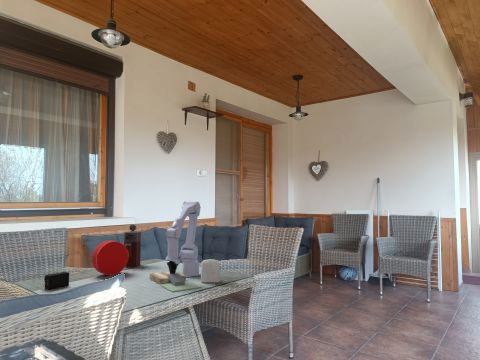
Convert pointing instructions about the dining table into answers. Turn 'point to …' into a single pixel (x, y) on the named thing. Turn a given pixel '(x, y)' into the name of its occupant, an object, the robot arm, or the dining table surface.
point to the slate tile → (176, 279)
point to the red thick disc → (110, 257)
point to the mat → (180, 286)
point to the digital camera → (56, 280)
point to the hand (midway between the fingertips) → (172, 275)
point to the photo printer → (210, 271)
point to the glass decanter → (133, 246)
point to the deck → (162, 277)
